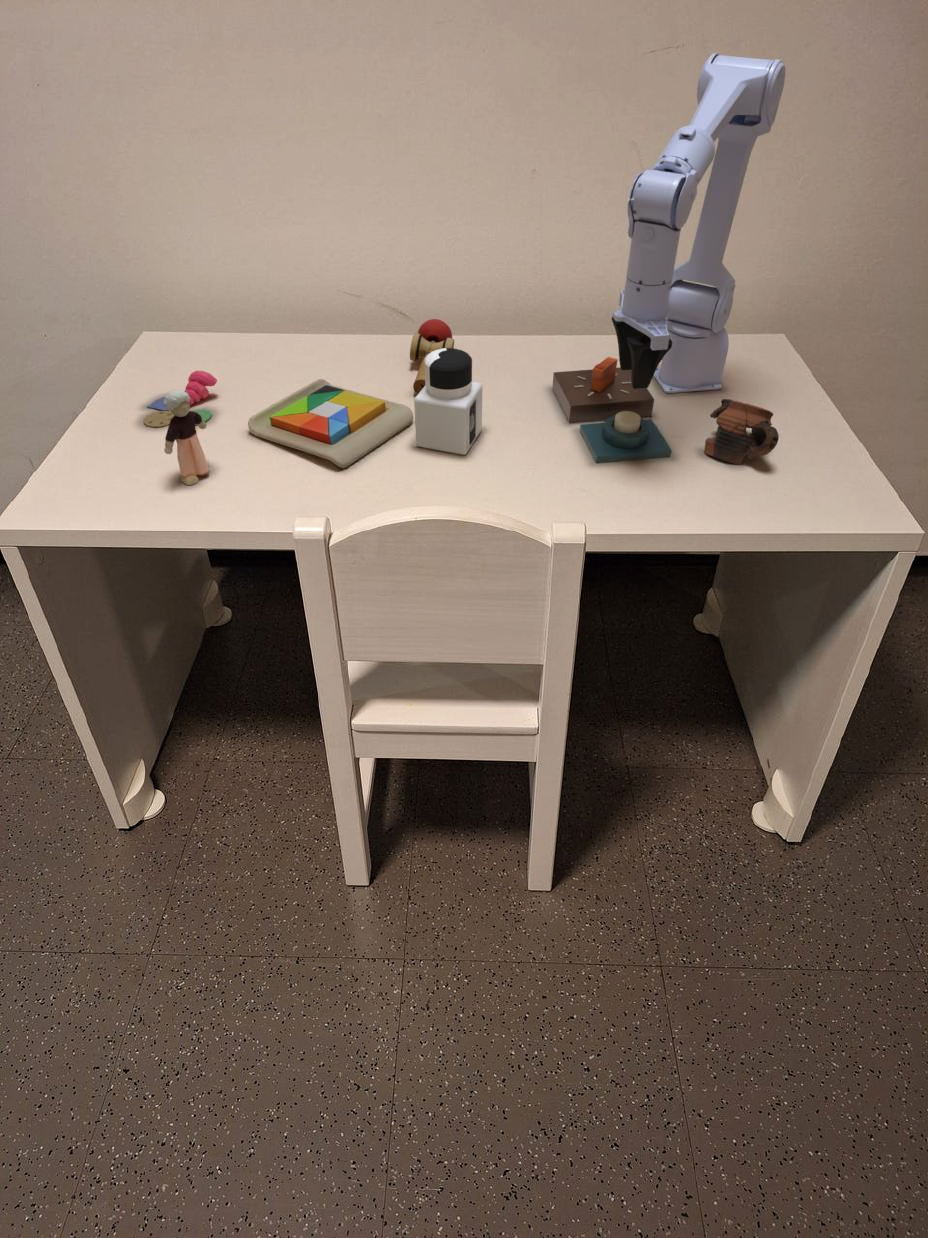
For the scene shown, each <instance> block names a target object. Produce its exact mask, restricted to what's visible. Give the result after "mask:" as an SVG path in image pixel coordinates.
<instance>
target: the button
mask: <svg viewBox="0 0 928 1238" xmlns="http://www.w3.org/2000/svg"><path fill="white" fill-rule="evenodd" d="M641 419H642V417H640V416H639V415H638V414H637V413H634V412H631V411H622V412H619V413H617V414H616V416H615V422H614V429H615V430H616V431H618V432H621V433H626V434H630V433H636V432H638V430H639V426H640V420H641Z"/></svg>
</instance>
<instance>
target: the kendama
mask: <svg viewBox="0 0 928 1238" xmlns="http://www.w3.org/2000/svg"><path fill="white" fill-rule="evenodd" d="M454 347H455V339H454V338H453V332H452V330H451V328H450V326H449V325H448V324H447V323H446V322H445V321H443V320H442V319H437V318H431V319H428V320H426V321H424V322H423V323H422V324H421V325H420V326H419V328H418V330H417V333H413V335H412V338H411V343H410V348H409V360H410V361H411V362H412V361H413V362H416V361H417V362H418V360H421V359H422V361H421V363H420V365H419V369H418V371H417V375H416V377H415V379H414V382H413V384H412V385H413V386H412V388H413V391H414V392H415V393H416V394H417V395H418V394H419V393H420V391H421V390H422V389H423V388H424V386H425V358H426V357H427V355H428V354H429V353H431V352H433V351H435V350H438V349H443V348H454ZM454 349H455V348H454Z"/></svg>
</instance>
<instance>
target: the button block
mask: <svg viewBox="0 0 928 1238" xmlns="http://www.w3.org/2000/svg"><path fill="white" fill-rule="evenodd" d="M615 416H616V415H615ZM615 416H612V417H610V418H608V419H606V420H604V422H595V423H582V424H580V425H579V433H580V435H581V437H582V439H583V440H584V442H585V444H586V446H587V449H588V451H589V453H590V455H591V456H592V458H593V461H594V463H595V464H602V463H603V464H604V463H614V462H627V461H637V460H638V461H639V460H650V459H659V458H660V459H663V458H670V457H671V455H672V449H671V447H670V445H669V443H668V442H667V441H666V439H665V438H664V436H663V435H662V433H661V431H660V430H659V428H658V426H657V425H656V424H655V422H654V420H653V419H652V418H644V419H643V418H641V420H640V426H639V430H638V432H636V433H630V434H626V433H621V432H618V431H616V430H615V429H614V422H615Z"/></svg>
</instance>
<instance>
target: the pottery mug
mask: <svg viewBox="0 0 928 1238" xmlns="http://www.w3.org/2000/svg"><path fill="white" fill-rule="evenodd" d="M720 403H721V405H720V406H719V407H717V408H716V409H714V410H713V411H712V412H711V413H710V414H709V415H710V418H712V419H716V424H717V429H716V435H715V438H710V437H708V438H706V439H705V441H704V442H705V443H704V451H703V454H705V455H708V456H710V457H714V458H717V459H719V460H720V461H724V462H728V463H730V464H734V465H737V466H740V465H741V463H742V462H743V459H744V457H745V455H747V457H748V458H749V459H750V460H751V461H753V460H756V459H758V458H759V457H764V456H766V455H768V454H770V453H771V452H772V451H773V450H774V449H775V448H776V447H777V445H778V442H779V438H780V437H779V431H778V430H777V428H776V427H774V426H772V425H773V424H772V421H771V420H772V418H773V417H774V412H772V411H770V410H769V409H766V408H764V407H761V406H758V405H754V404H750V403H746V402H743V401H739V400H733V399H730V398H723V399H721V401H720ZM747 429H751V433H748V434H747Z"/></svg>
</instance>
